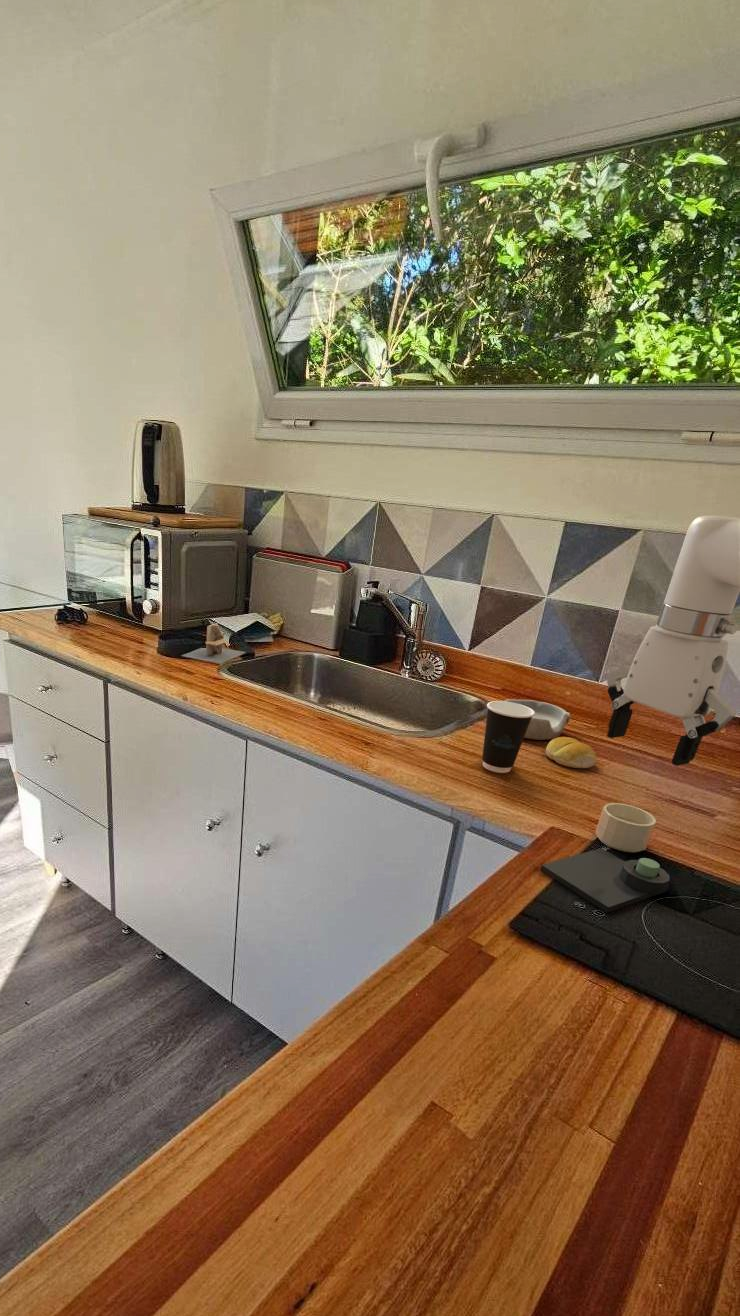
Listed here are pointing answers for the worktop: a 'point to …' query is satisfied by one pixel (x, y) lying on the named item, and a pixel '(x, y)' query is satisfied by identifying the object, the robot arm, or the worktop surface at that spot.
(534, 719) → the dish
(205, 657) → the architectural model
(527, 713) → the dixie cup
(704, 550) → the robot arm
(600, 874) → the scale
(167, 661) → the worktop surface
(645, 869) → the button
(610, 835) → the bowl
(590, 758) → the bread roll
